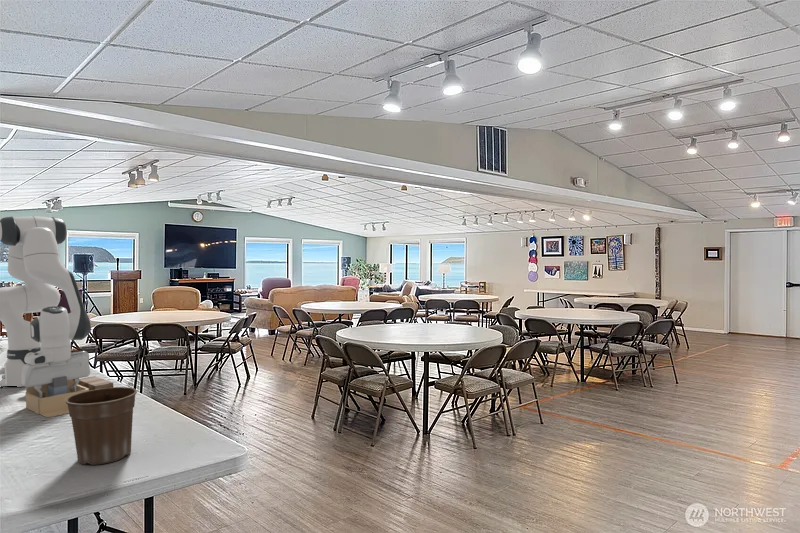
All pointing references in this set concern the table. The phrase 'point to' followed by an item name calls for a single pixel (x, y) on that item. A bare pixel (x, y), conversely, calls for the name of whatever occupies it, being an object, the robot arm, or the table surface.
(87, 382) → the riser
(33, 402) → the light wooden open box
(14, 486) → the table surface
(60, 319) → the robot arm
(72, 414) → the plant pot
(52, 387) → the blue-grey rectangular block
